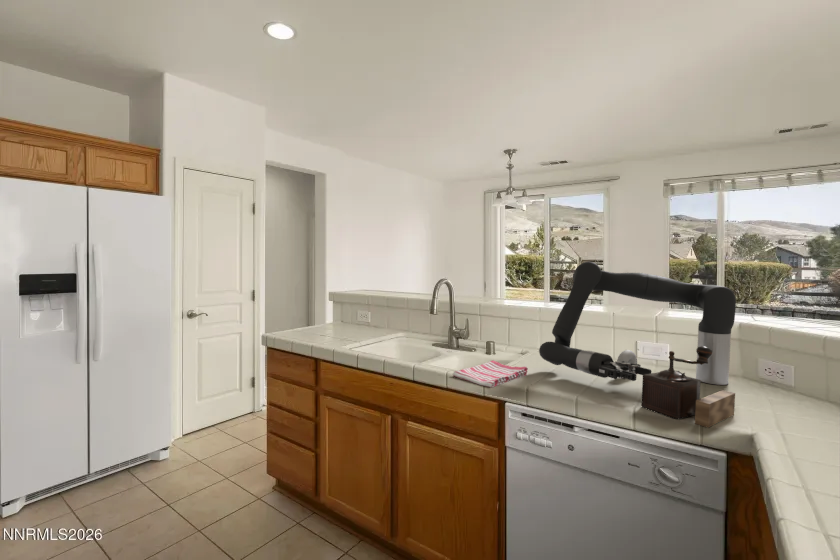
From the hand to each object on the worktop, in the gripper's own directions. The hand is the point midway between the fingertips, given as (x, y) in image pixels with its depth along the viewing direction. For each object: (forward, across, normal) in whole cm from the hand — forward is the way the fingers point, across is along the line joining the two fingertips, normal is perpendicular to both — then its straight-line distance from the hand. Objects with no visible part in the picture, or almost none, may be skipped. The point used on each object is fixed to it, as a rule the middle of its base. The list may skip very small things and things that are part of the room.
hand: (643, 375), depth 124 cm
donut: (-14, +17, +7) cm, 24 cm away
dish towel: (-42, -22, +8) cm, 48 cm away
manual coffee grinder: (+10, -1, +7) cm, 12 cm away
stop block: (+19, 0, +7) cm, 20 cm away
